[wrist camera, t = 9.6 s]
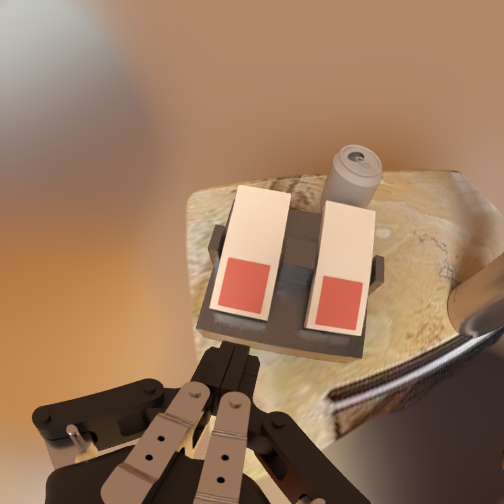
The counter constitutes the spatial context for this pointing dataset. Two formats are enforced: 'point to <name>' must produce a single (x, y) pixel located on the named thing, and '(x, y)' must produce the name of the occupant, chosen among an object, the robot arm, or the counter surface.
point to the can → (353, 177)
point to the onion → (502, 459)
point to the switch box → (285, 300)
